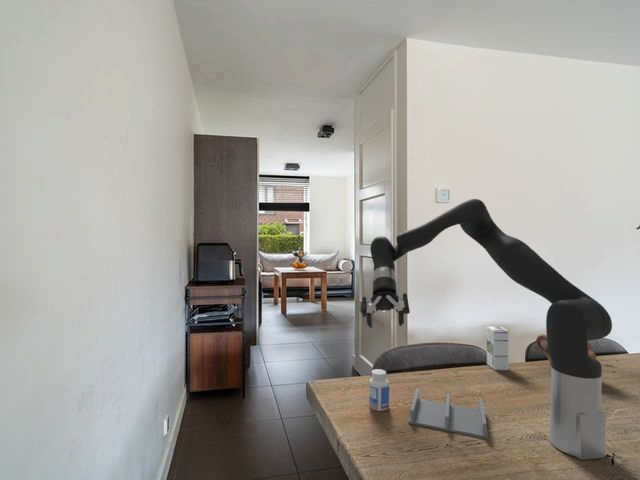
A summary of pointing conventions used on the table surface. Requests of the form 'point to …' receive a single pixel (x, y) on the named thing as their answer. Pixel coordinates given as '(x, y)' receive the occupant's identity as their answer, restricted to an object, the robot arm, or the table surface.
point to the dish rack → (449, 416)
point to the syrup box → (497, 348)
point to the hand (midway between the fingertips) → (385, 325)
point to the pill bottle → (379, 390)
